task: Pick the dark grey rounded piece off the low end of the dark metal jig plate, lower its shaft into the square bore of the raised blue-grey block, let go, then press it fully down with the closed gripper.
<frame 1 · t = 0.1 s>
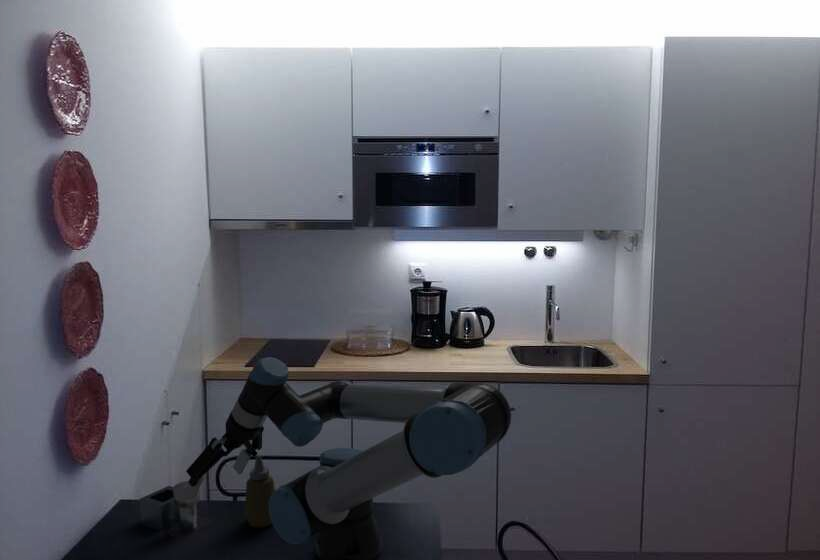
hand: (214, 481, 141), 15 cm above the table, tool tilted 35°, fingers open, 13 cm apart
jig: (176, 526, 151), on the table
squeeze bottle: (262, 526, 150), on the table
dark grey rounded piece: (188, 526, 148), point 1 cm above the table, touching jig
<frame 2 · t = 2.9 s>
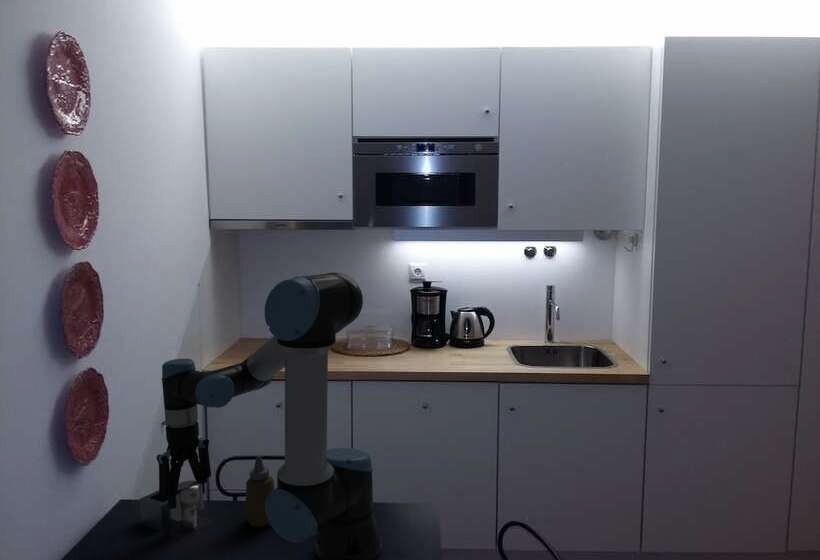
hand: (188, 513, 148), 5 cm above the table, tool pointing down, fingers closed on dark grey rounded piece, 6 cm apart
dark grey rounded piece: (188, 526, 148), point 1 cm above the table, touching gripper, jig
everything else where it was.
when the fingers open (8 cm above the table, at t = 8.0 s): dark grey rounded piece drops 3 cm, resting on jig.
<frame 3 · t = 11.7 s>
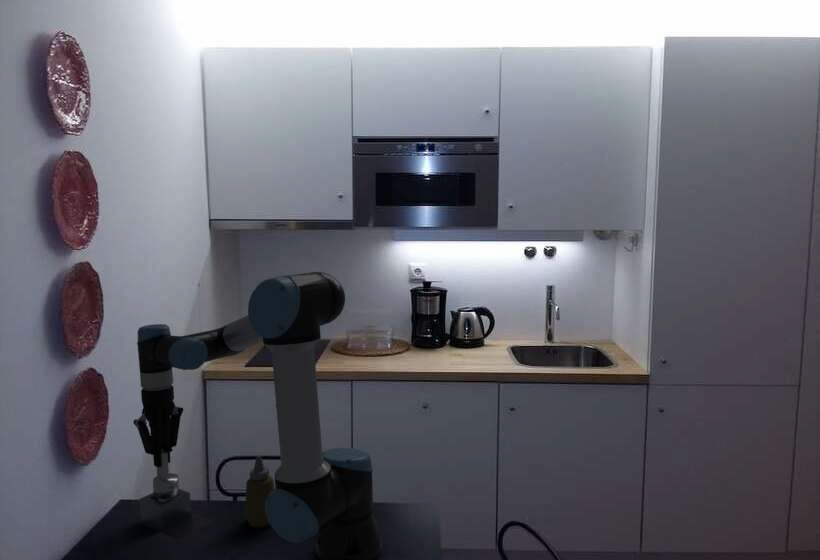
hand: (163, 477, 152), 12 cm above the table, tool pointing down, fingers closed
dark grey rounded piece: (166, 517, 153), point 1 cm above the table, touching gripper, jig
everything else where it was.
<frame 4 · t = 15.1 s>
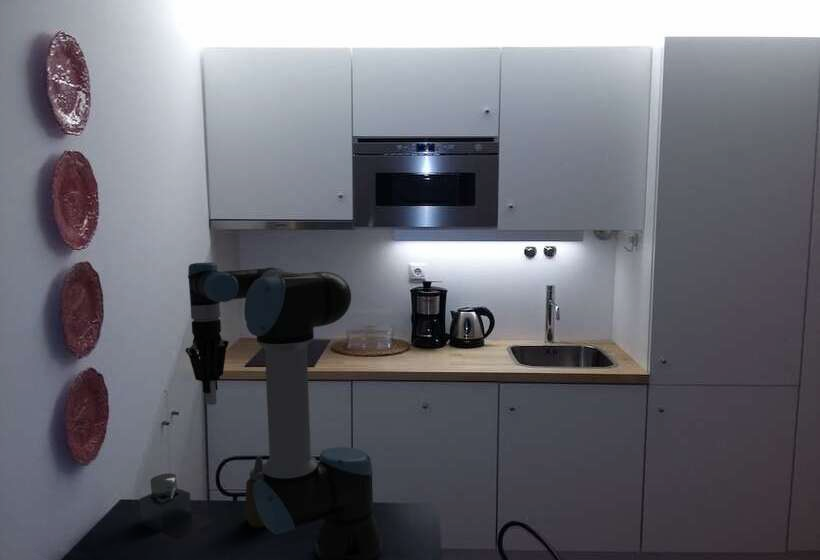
hand: (211, 403, 165), 26 cm above the table, tool pointing down, fingers closed
dark grey rounded piece: (166, 517, 153), point 1 cm above the table, touching jig
everything else where it was.
at the end: dark grey rounded piece 0.1 cm from the target spot on the jig, point 1.2 cm above the jig's base; dark grey rounded piece tilted 1°; the gripper is holding nothing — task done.
